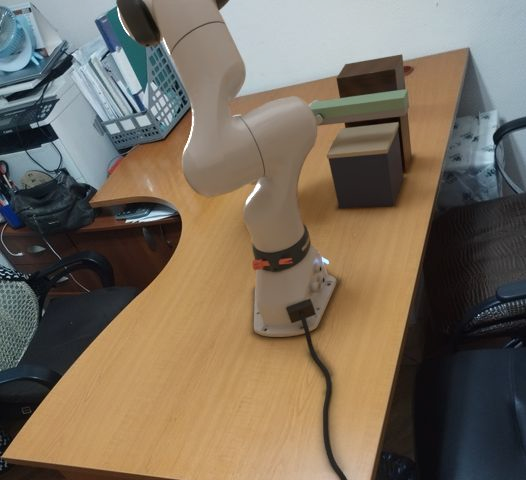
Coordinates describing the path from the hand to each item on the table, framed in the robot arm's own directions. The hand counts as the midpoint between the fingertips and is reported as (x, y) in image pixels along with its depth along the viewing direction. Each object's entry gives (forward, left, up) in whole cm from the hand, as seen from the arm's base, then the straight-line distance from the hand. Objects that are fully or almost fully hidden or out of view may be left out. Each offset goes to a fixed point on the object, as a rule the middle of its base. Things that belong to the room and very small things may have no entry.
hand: (325, 110), depth 119 cm
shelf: (+11, -10, -23) cm, 27 cm away
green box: (-1, -8, -2) cm, 8 cm away
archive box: (-1, -8, -23) cm, 24 cm away
